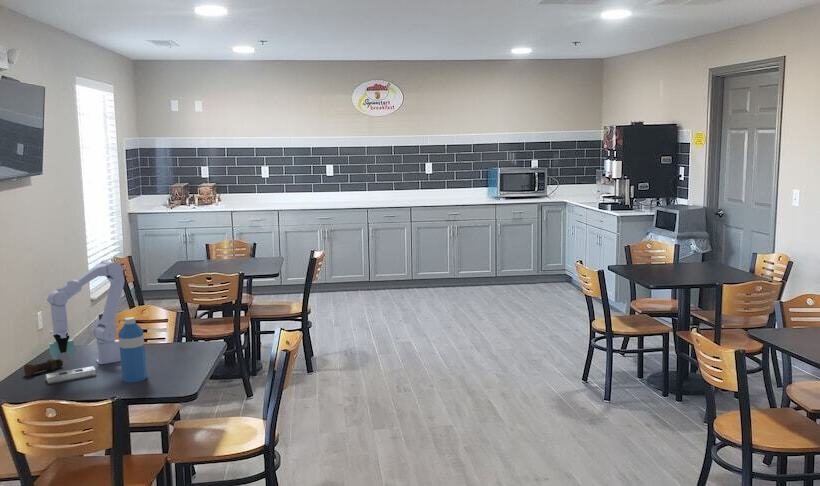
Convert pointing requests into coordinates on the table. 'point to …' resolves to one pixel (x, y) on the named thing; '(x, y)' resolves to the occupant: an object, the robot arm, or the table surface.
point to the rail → (70, 375)
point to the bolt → (42, 366)
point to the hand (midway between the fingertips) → (62, 351)
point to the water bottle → (132, 351)
